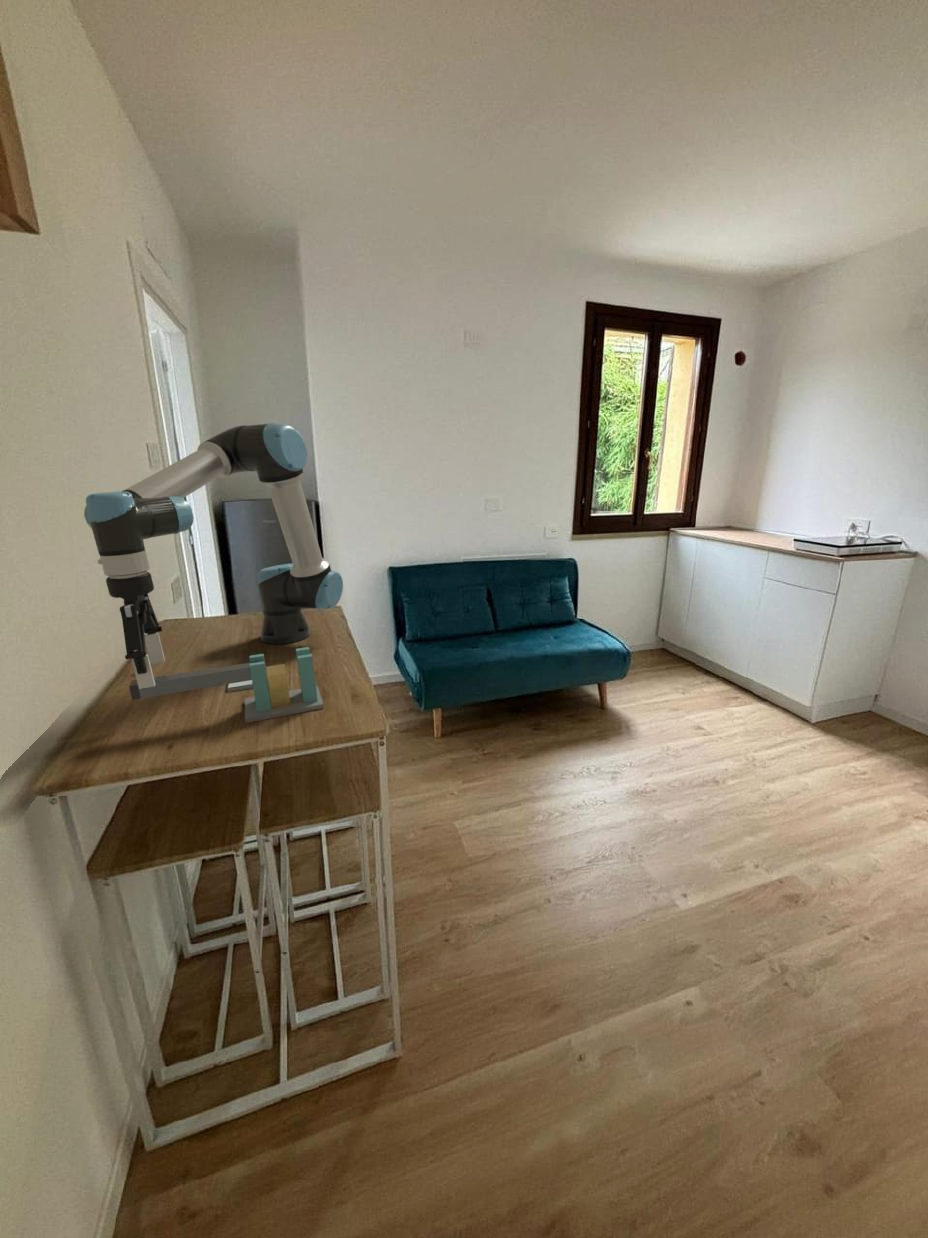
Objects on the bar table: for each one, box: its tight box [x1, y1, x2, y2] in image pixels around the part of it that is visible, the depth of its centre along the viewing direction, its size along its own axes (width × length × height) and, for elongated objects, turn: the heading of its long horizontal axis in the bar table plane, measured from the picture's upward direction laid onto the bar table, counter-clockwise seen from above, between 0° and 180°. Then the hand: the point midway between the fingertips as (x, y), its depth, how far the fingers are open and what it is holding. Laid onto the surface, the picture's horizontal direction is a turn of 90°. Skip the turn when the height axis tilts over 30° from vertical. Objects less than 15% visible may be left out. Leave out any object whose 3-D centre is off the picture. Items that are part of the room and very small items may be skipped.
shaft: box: [128, 661, 263, 701], centre depth 109 cm, size 3×26×3 cm, turn 112°
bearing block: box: [244, 646, 325, 724], centre depth 116 cm, size 11×16×12 cm, turn 112°
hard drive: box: [227, 680, 253, 693], centre depth 133 cm, size 2×8×12 cm
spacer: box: [266, 663, 290, 708], centre depth 116 cm, size 6×4×8 cm, turn 22°
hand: (153, 674), depth 106 cm, fingers open, 13 cm apart
